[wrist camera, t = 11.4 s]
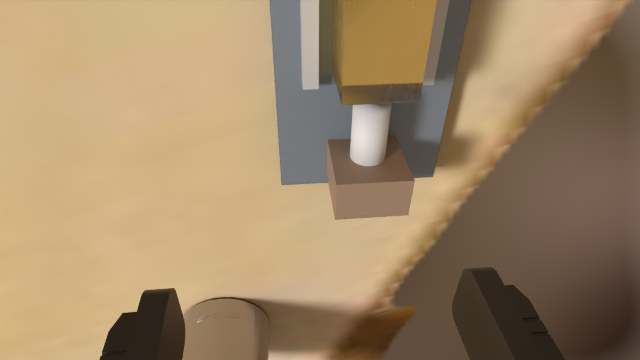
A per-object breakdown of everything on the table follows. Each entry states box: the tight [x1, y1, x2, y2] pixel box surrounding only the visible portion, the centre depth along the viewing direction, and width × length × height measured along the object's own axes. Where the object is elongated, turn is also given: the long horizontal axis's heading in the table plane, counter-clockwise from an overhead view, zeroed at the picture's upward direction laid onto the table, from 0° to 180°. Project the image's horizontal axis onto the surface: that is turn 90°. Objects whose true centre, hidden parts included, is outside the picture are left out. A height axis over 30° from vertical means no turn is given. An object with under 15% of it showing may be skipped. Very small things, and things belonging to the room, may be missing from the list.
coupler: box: [332, 0, 437, 105], centre depth 24 cm, size 8×4×4 cm, turn 0°
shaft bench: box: [270, 0, 471, 220], centre depth 24 cm, size 26×12×7 cm, turn 0°
